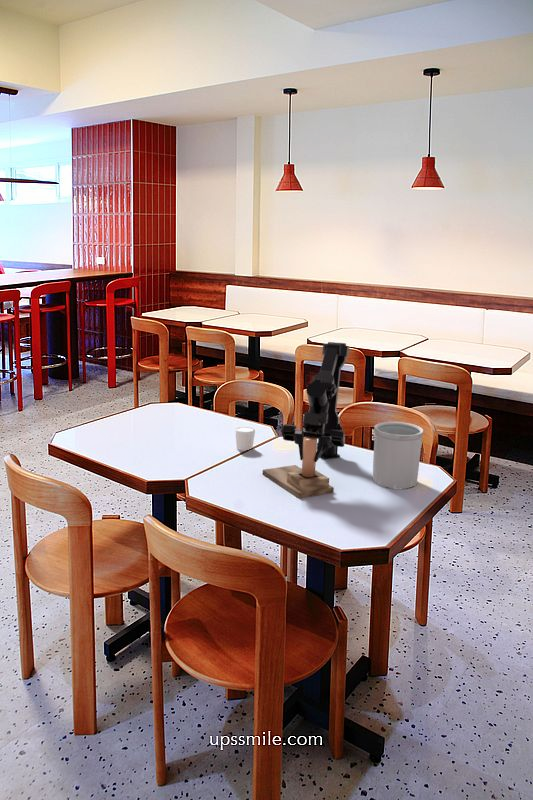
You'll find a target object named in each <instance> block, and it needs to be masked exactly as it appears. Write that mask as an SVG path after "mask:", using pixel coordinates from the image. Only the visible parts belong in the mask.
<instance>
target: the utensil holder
mask: <svg viewBox="0 0 533 800" xmlns="http://www.w3.org/2000/svg"><path fill="white" fill-rule="evenodd" d="M373 428H374V429H373V431H374V440H373V441H374V442H373V443H374V444H373V462H372V463H373V465H372V481H373V482H374V483H375V484H376V485H378V486H380V485H381V486H380V487H383V486H384V487H383V488H386V487H389V488H388V489H392V488H397V489H396V490H401V489H400V488H408V489H410V488H409V487H412V486H414V485H415V486H417V483H418V477H419V470H420V469H419V467H420V460H421V458H420V457H421V449H422V441H423V440H422V438H423V436H424V432H425V431H424V429H423V428H422V427H421V426H419V425H417V424H414V423H408V422H404V421H403V422H401V421H382V422H378V423H376V424H375V425H374V427H373ZM415 486H414V487H415ZM398 488H399V489H398ZM412 488H413V487H412Z"/></svg>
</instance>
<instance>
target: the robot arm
mask: <svg viewBox="0 0 533 800" xmlns="http://www.w3.org/2000/svg"><path fill="white" fill-rule="evenodd" d="M321 353H322V355H323V359H322V362H321V366H320V370H319V372H318V373H317V374H315V375H314V376H313V379H312V381H311V382H310V383H309V384H308V385H307V386H306V390H305V391H306V395H307V401H308V404H309V408H308V412H303V413H304V414H303V421H302V424H303V429H304V430H303V429H302V428H301V429H299V428H297V425H296V424H287V423H286V424H283V425H282V427H281V436H282V439H283V441H286V442H287V441H288V442H294V444H296V445H298V450H299V451H298V452H299V459H300V461H302V457H303V439H304V438H305V437H313V438H316V439H317V450H316V455H315V462H316V463H317V462H318V460H319V459H320V458H322V459H324V460H325V459H332V458H334V459H335V458H338V457H339V458H340V457H341V455H340V454H338V451H339V450H338V448H343V447H345V443H346V437H345V436H346V435H345V432H344V429H343V427H342V423H340V422H341V419H340V415H338V412H337V408H338V398H339V397H338V396H339V389H340V388H339V387H340V380H341V379H340V378H341V370H342V368H343V367H344V365H345V364H346V363H347V358H349V356H350V346H348V345H347V343H344V342H336V341H335V342H332V341H328V342H327V343H324V344H323V345H322V352H321Z"/></svg>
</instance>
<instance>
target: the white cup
mask: <svg viewBox="0 0 533 800" xmlns="http://www.w3.org/2000/svg"><path fill="white" fill-rule="evenodd" d="M255 434H256V429H255V428H254V427H253V428H252V427H249V426H244V427H243V426H242V427H241V426H240V427H237V428H235V444H236V449H237V450H238V451H242V452H246V450H249V449H251V448H253V449H254V447H253V446H254V439H255ZM249 451H250V450H249Z"/></svg>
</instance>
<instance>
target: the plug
mask: <svg viewBox="0 0 533 800" xmlns="http://www.w3.org/2000/svg"><path fill="white" fill-rule="evenodd" d="M317 443H318V439H316V438H313V437H304V439H303V457H302V460H301V469H302V475H303V476H305V477H313V476H315V470H316V464H317V462H315V455H316V452H317Z"/></svg>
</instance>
